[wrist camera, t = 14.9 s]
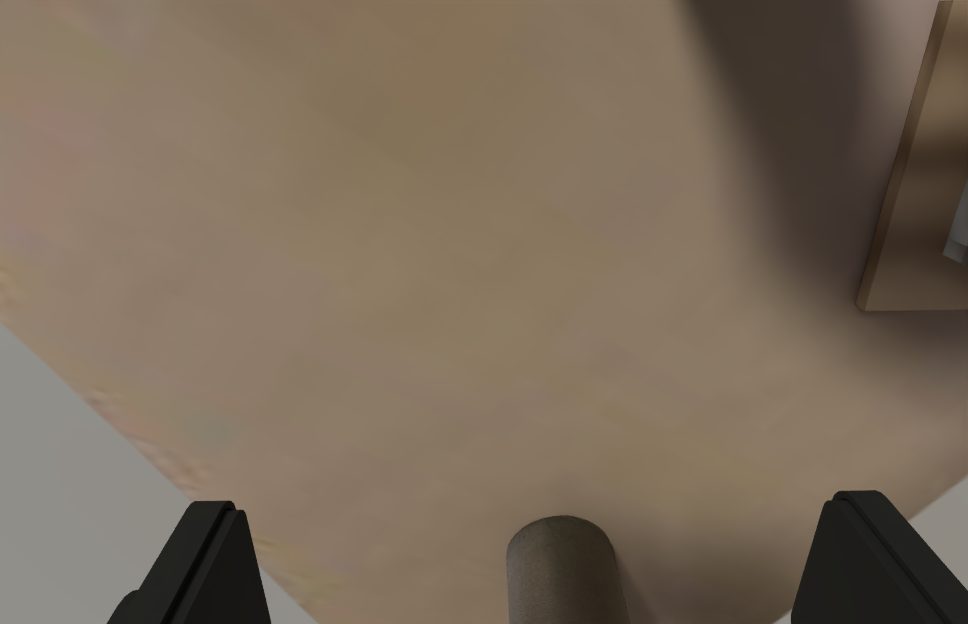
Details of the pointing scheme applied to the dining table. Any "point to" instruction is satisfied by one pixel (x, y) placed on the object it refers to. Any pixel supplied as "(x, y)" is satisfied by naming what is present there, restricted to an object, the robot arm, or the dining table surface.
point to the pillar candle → (563, 575)
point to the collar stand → (927, 186)
